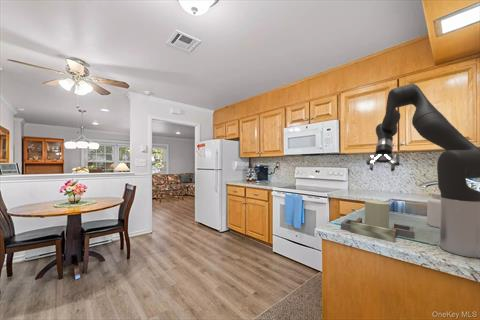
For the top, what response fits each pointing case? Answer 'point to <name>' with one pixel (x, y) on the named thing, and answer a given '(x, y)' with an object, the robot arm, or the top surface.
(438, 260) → the top surface
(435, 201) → the pill bottle
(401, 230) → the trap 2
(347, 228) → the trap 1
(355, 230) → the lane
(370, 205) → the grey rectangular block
